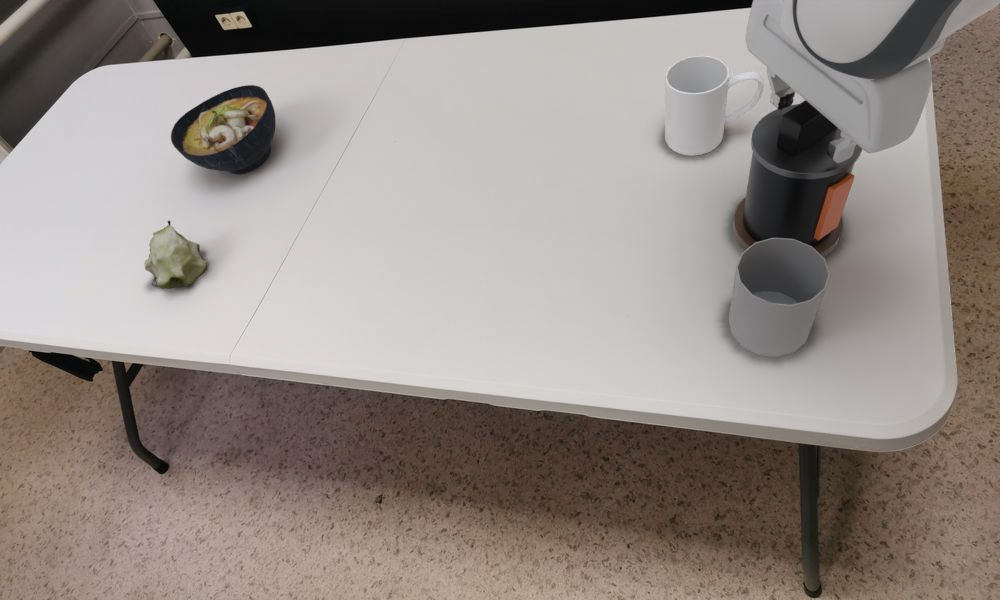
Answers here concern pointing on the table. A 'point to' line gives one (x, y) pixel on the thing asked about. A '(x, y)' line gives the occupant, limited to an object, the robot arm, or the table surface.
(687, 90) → the mug
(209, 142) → the bowl
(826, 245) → the disc
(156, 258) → the fruit
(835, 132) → the bin
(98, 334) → the table surface
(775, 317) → the cup
